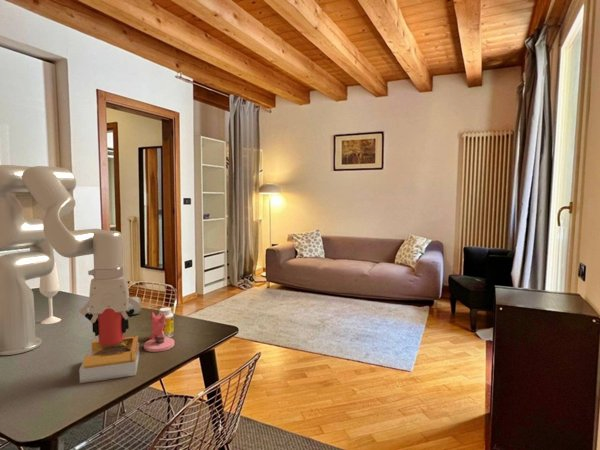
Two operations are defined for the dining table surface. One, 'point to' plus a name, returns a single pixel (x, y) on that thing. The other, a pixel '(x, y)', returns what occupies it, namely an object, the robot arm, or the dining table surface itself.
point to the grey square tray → (110, 361)
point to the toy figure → (158, 335)
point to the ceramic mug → (138, 307)
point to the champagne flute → (50, 292)
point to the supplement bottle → (168, 321)
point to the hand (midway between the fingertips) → (111, 332)
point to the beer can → (110, 327)
